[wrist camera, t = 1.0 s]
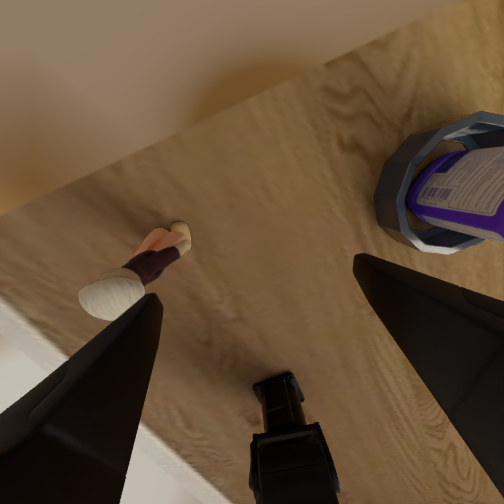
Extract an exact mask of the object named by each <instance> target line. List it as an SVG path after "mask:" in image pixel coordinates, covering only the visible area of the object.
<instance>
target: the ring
mask: <svg viewBox="0 0 504 504" xmlns="http://www.w3.org/2000/svg"><path fill="white" fill-rule="evenodd" d="M441 140H446V141H451V142H457V143H462V144H463V145H464V147H465V148H466V149H467V150H474V149H484V148H494V147H504V115H499V114H494V113H489V112H484V111H479V112H475V113H472V114H468V115H464V116H460V117H456V118H453V119H449V120H445V121H442V122H440V123H437V124H435V125H433V126H430V127H428V128H426V129H423V130H421V131H419V132H416V133H414V134H412V135H410V136H409V137H408V138H407V139H406V140H405V141H404V143H403V144H402V145H401V146H400V147H399V148H398V149H397V150H396V152H395V153H394V154H393V155H392V156H391V157H390V158H389V159H388V161H387V162H386V163H385V165H384V167H383V170H382V173H381V176H380V180H379V183H378V186H377V189H376V192H375V195H374V201H375V206H376V212H377V217H378V222H379V225H380V226H381V227H382V228H383V229H384V230H385V231H386V232H387V233H388V234H389V235H390V236H391V237H393V238H394V239H395V240H396V241H397V242H399V243H402V244H404V245H407V246H409V247H411V248H414V249H416V250H419V251H422V252H431V253H439V254H448V255H449V254H452V253H455V252H457V251H460V250H463V249H465V248H468V247H471V246H473V245H476V244H479V243H481V242H483V241H484V240H485V239H484V238H480V237H476V236H473V235H469V234H465V233H461V232H458V231H454V230H450V229H447V228H443V227H439V226H437V227H435V228H432V229H429V230H427V231H417V230H410V229H409V228H408V222H407V215H406V208H405V200H404V199H405V196H406V193H407V191H408V188H409V185H410V183H411V180H412V177H413V175H414V172H415V169H416V167H417V165H418V164H419V163H420V162H421V161H422V160H423V159H424V158H425V157H426V156H427V155H428V154H429V152H430V151H431V150H432V149H433V148H434V147H435V146H436V145H437V144H438V143H439V142H440V141H441Z"/></svg>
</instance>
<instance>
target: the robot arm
mask: <svg viewBox="0 0 504 504" xmlns="http://www.w3.org/2000/svg"><path fill="white" fill-rule="evenodd" d="M353 274H354V276H355V278H356V280H357V282H358V284H359V286H360V287H361V289H362V291H363V293H364V295H365V297H366V299H367V300H368V302H369V304H370V305H371V307H372V308H373V310H374V311H375V313H376V314H377V315H378V317H379V318H380V320H381V321H382V323H383V324H384V326H385V327H386V328H387V330H388V331H389V333H390V334H391V336H392V337H393V339H394V340H395V341H396V343H397V344H398V346H399V347H400V349H401V350H402V352H403V353H404V354H405V356H406V357H407V359H408V360H409V362H410V363H411V365H412V366H413V367H414V369H415V370H416V372H417V373H418V375H419V376H420V378H421V379H422V380H423V382H424V383H425V385H426V386H427V388H428V389H429V391H430V392H431V393H432V395H433V396H434V398H435V399H436V401H437V402H438V404H439V405H440V406H441V408H442V409H443V411H444V412H445V414H446V415H447V416H448V418H449V420H450V421H451V423H452V424H453V426H454V427H455V428H456V430H457V431H458V433H459V434H460V436H461V437H462V439H463V440H464V441H465V443H466V444H467V446H468V447H469V449H470V450H471V452H472V453H473V454H474V456H475V457H476V459H477V460H478V462H479V463H480V465H481V466H482V467H483V469H484V470H485V472H486V473H487V475H488V476H489V478H490V479H491V480H492V482H493V483H494V485H495V486H496V488H497V489H498V491H499V492H500V493H501V495H502V496H503V498H504V301H502V300H498V299H495V298H492V297H489V296H486V295H483V294H480V293H477V292H474V291H472V290H469V289H466V288H463V287H459V286H457V285H454V284H452V283H449V282H446V281H443V280H440V279H437V278H434V277H432V276H429V275H426V274H423V273H420V272H417V271H415V270H412V269H409V268H406V267H403V266H400V265H397V264H395V263H392V262H389V261H386V260H383V259H380V258H378V257H375V256H372V255H369V254H366V253H361V254H356V255H355V256H354V261H353ZM162 318H163V305H162V303H161V301H160V300H159V298H158V296H157V294H156V293H149V294H145V295H144V296H143V297H141V298H140V299H139V300H138V301H137V302H136V303H134V304H133V305H132V306H131V307H130V308H128V309H127V310H126V311H125V312H124V313H123V314H121V315H120V316H119V317H118V318H117V319H115V320H114V321H113V322H112V323H111V324H110V325H108V326H107V327H106V328H105V329H104V330H102V331H101V332H100V333H99V334H98V335H96V336H95V337H94V338H93V339H92V340H91V341H89V342H88V343H87V344H86V345H85V346H83V347H82V348H81V349H80V350H79V351H78V352H76V353H75V354H74V355H73V356H72V357H70V358H69V360H68V361H66V362H64V363H63V364H62V365H61V366H60V367H59V368H57V369H56V370H55V371H54V372H53V373H51V374H50V375H49V376H48V377H46V378H45V379H44V380H43V381H42V382H40V383H39V384H38V385H37V386H36V387H34V388H33V389H32V390H30V391H29V392H28V393H27V394H25V395H24V396H23V397H21V398H20V399H19V400H18V401H16V402H15V403H14V404H13V405H11V406H10V407H9V408H7V409H6V410H5V411H3V412H2V413H1V414H0V504H119V503H120V499H121V495H122V491H123V487H124V483H125V479H126V474H127V470H128V466H129V462H130V458H131V454H132V450H133V446H134V442H135V438H136V434H137V430H138V426H139V422H140V418H141V414H142V410H143V406H144V402H145V398H146V393H147V389H148V385H149V381H150V377H151V373H152V369H153V365H154V361H155V357H156V353H157V349H158V345H159V340H160V333H161V325H162ZM253 391H254V393H255V394H256V396H257V398H258V399H259V401H260V403H261V404H262V412H263V422H264V431H265V433H260V434H257V433H255V434H253V441H252V442H251V443H250V453H251V463H250V474H249V488H250V489H251V490H252V492H253V493H254V497H255V499H256V504H339V502H338V499H337V495H336V494H340V493H341V491H340V485H339V481H338V477H337V473H336V469H335V466H334V463H333V460H332V456H331V454H330V451H329V448H328V446H327V443H326V441H325V438H324V435H323V433H322V430H321V428H320V425H319V422H314V424H308V425H307V424H306V420H305V416H304V413H303V409H302V405H301V402H304V400H305V399H304V396H303V394H302V392H301V390H300V387H299V385H298V383H297V381H296V379H295V377H294V375H293V373H291V372H290V373H286V374H284V375H281V376H278V377H275V378H272V379H269V380H267V381H264V382H261V383H258V384H255V385H253Z"/></svg>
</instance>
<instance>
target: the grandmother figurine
mask: <svg viewBox="0 0 504 504" xmlns="http://www.w3.org/2000/svg"><path fill="white" fill-rule="evenodd" d="M190 249H191V236H190V231H189V227H188V226H187V224H186V223H184V222H176V223H174V224H173V225H172V226H171V232H168V231H167V230H165V229H163V228H156V229H154V230H153V231H152V232H150V233H149V234H148V236H147V237H146V238H145V239H144V241H143V242H142V244H141V246H140V247H139V248H138V250H137V251H136V253H135V254H134V256H133V258H132V259H131V260H130V261H129V262H128V263H127V264H125V265H124V266H123V267H121V268H115V269H112V270H109V271H107V272H105V273H104V274H103V275H101V276H100V278H99V279H98V280H97V282H95V283H94V284H88V285H86V286H85V287H83V288H82V289H81V290H80V292H79V302H80V304H81V305H82V307H83V308H84V310H85V311H86V312H88V313H89V314H90V315H92V316H94V317H97V318H99V319H104V320H108V321H114V320H115V319H117V318H118V317H119V316H120V315H121V314H123V313H124V312H125V311H126V310H127V309H128V308H130V307H131V306H132V305H133V304H134V303H136V302H137V301H138V300H139V299H140V298H141V297H143V296H144V293H145V290H144V286H145V285H147V284H148V283H150V282H152V281H154V280H155V279H157V278H158V277H159V276H160V275H161V273H162V271H163V270H164V269H165V267H167V266H168V265H169V264H171V263H172V262H174V261H175V260H177V259H178V258H179V257H180V256H181V255H183V254H184V253H185V252H186V251H188V250H190Z"/></svg>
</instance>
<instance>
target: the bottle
mask: <svg viewBox="0 0 504 504" xmlns="http://www.w3.org/2000/svg"><path fill="white" fill-rule="evenodd" d="M406 201H407V205H408V207H409V209H410V210H411V211H412V212H413V213H414V214H415V215H416V216H417V217H418V218H419V219H420V220H422V221H425V222H427V223H430V224H432V225H435V226H439V227H443V228H447V229H450V230H454V231H458V232H461V233H465V234H469V235H473V236H476V237H480V238H484V239H488V240H491V241H495V242H499V243H502V244H504V147H494V148H484V149H474V150H464V151H456V152H452V153H449V154H446V155H444V156H442V157H440V158H439V159H437V160H436V161H434V162H433V163H432V164H430V165H429V166H428V167H427V168H426V169H425V170H424V171H423V172H422V173H421V174H420V175H419V177H418V178H417V179H416V180H415V182H414V183H413V185H412V186H411V188H410V190H409V192H408V194H407V196H406Z"/></svg>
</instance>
